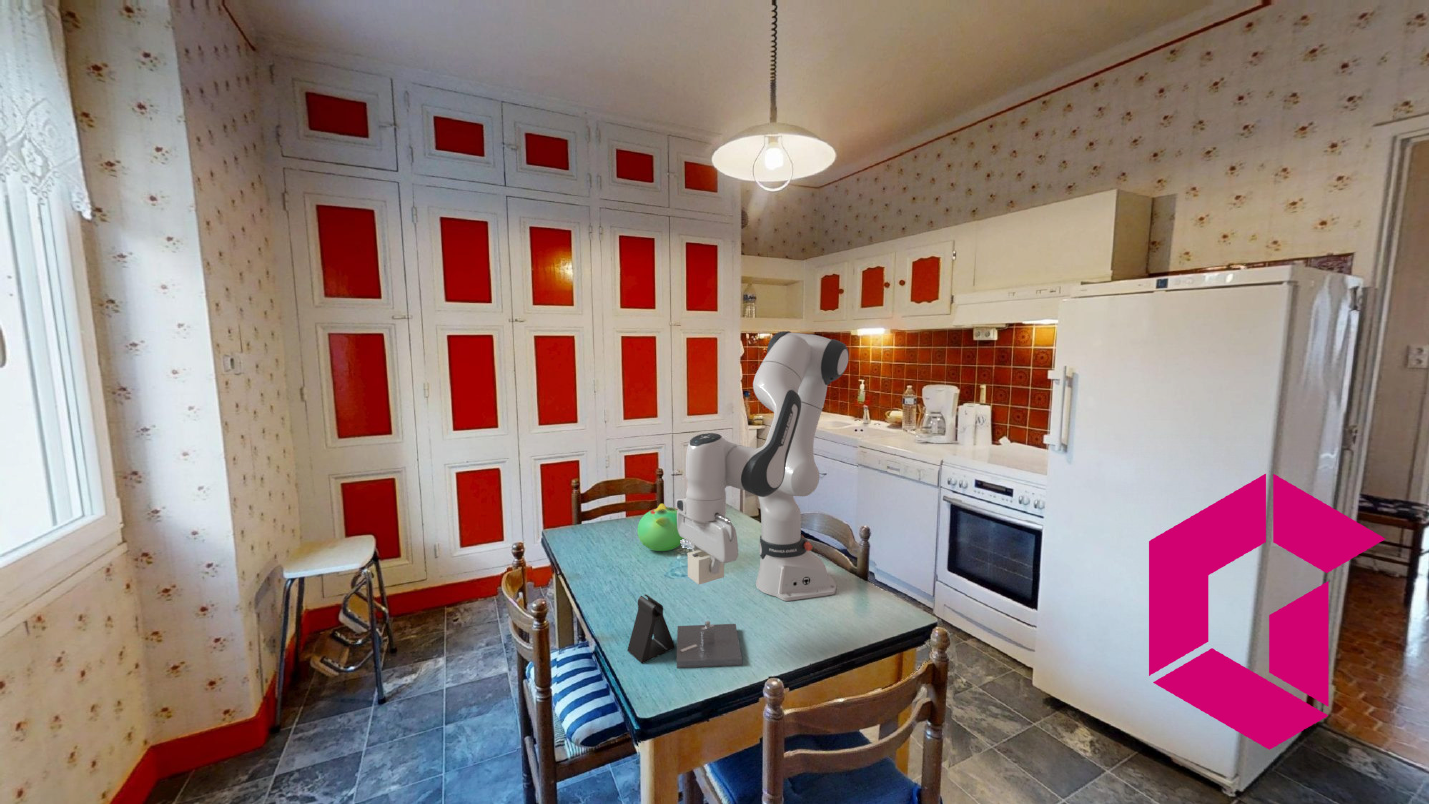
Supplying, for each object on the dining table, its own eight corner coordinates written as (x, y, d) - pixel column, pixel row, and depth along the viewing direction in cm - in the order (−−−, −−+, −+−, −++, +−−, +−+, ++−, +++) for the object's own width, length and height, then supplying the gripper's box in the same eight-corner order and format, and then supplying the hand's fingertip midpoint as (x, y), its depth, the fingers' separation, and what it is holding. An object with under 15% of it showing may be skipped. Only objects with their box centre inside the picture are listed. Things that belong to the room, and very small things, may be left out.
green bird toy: (675, 535, 187) (674, 495, 185) (701, 550, 173) (700, 507, 171) (630, 547, 176) (628, 505, 175) (654, 564, 163) (652, 519, 161)
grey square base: (735, 629, 125) (735, 605, 124) (741, 665, 111) (741, 638, 111) (677, 631, 124) (677, 607, 124) (676, 668, 111) (676, 640, 110)
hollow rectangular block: (712, 569, 120) (712, 545, 119) (724, 577, 116) (724, 552, 115) (687, 576, 116) (687, 551, 115) (698, 584, 112) (698, 558, 111)
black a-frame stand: (660, 636, 122) (659, 588, 121) (675, 648, 118) (674, 598, 116) (627, 651, 117) (625, 601, 115) (641, 664, 112) (639, 611, 111)
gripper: (745, 518, 107) (745, 581, 109) (695, 494, 124) (695, 549, 126) (720, 523, 104) (720, 589, 105) (671, 498, 121) (672, 555, 122)
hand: (706, 567), depth 116 cm, fingers closed on hollow rectangular block, 5 cm apart
